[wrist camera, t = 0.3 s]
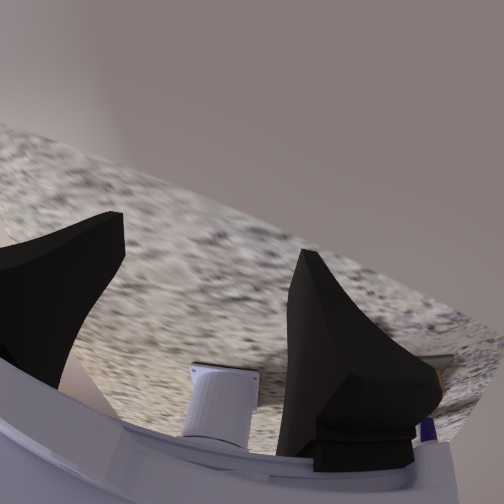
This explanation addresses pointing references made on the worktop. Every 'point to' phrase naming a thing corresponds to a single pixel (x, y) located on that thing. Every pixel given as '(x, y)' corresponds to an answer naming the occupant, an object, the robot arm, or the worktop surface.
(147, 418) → the worktop surface
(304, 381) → the robot arm
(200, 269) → the worktop surface
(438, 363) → the mat
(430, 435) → the energy drink
